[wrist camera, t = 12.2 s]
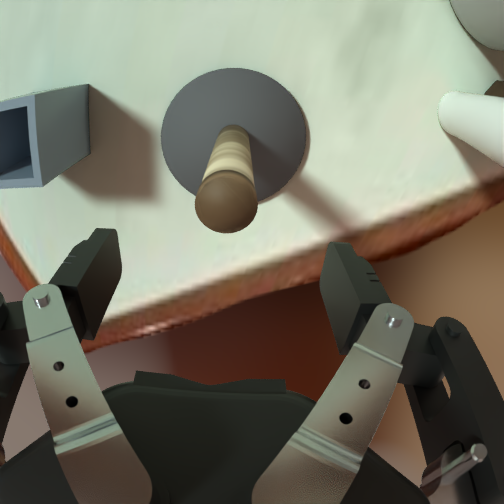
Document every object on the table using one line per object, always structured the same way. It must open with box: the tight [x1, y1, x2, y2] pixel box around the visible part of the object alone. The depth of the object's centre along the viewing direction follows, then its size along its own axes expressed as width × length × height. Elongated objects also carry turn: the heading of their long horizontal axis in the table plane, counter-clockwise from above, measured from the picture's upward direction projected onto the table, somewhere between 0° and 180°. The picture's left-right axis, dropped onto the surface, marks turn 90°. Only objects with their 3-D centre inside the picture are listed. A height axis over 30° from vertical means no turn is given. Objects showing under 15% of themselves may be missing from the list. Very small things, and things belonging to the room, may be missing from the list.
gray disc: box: [161, 68, 306, 202], centre depth 30 cm, size 14×14×1 cm
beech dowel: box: [195, 125, 258, 233], centre depth 23 cm, size 3×3×16 cm
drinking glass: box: [438, 91, 504, 168], centre depth 22 cm, size 7×7×15 cm
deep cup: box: [0, 84, 90, 189], centre depth 23 cm, size 8×8×10 cm
